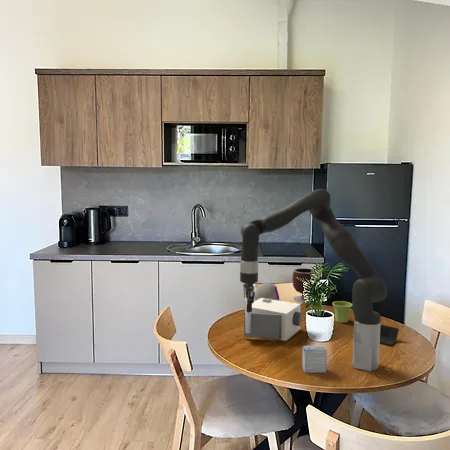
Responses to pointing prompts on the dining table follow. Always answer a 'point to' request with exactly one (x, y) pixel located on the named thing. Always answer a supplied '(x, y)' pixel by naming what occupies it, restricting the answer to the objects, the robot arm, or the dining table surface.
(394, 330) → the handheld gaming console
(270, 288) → the grey rounded dome
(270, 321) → the side door
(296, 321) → the cabinet housing
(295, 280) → the mate gourd
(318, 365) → the medicine box
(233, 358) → the dining table surface
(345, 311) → the plant pot
